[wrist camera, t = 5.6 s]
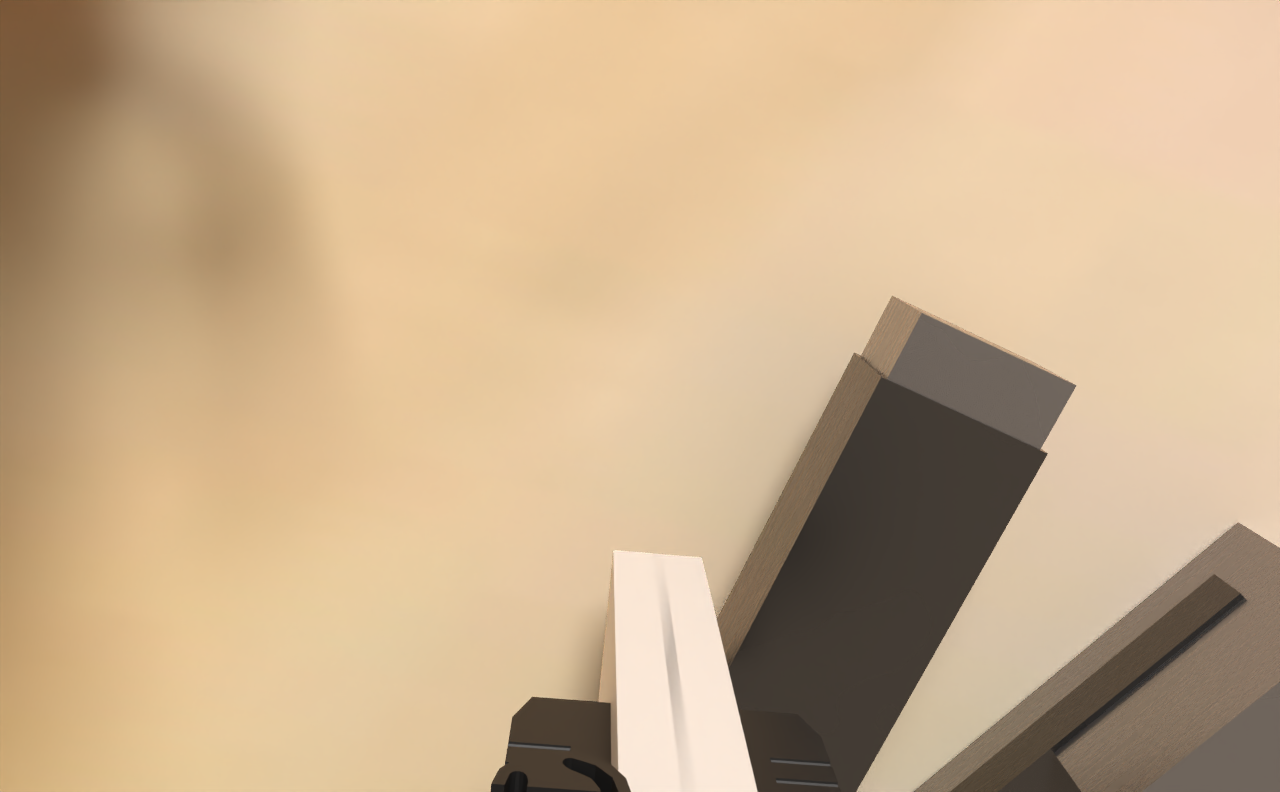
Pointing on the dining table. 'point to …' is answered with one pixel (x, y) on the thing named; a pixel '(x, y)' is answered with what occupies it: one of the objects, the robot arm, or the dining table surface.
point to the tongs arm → (885, 529)
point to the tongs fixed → (1155, 694)
